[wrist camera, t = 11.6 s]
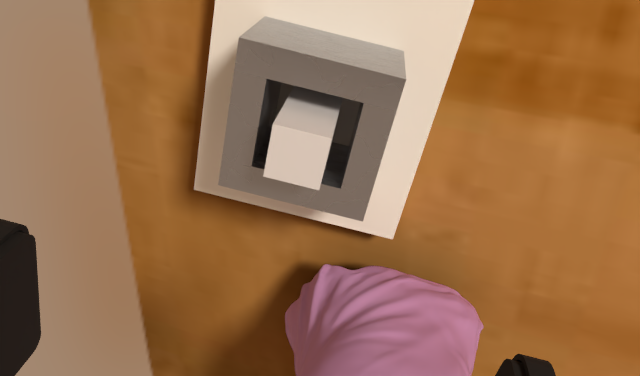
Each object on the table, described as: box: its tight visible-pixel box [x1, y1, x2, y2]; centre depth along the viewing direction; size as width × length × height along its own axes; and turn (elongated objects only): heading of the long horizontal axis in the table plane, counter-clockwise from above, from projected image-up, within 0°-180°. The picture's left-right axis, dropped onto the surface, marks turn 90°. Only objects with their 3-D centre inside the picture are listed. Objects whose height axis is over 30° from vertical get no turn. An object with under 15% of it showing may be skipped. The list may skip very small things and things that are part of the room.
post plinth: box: [194, 0, 474, 239], centre depth 25 cm, size 14×12×9 cm
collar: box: [218, 16, 406, 222], centre depth 25 cm, size 7×7×5 cm
